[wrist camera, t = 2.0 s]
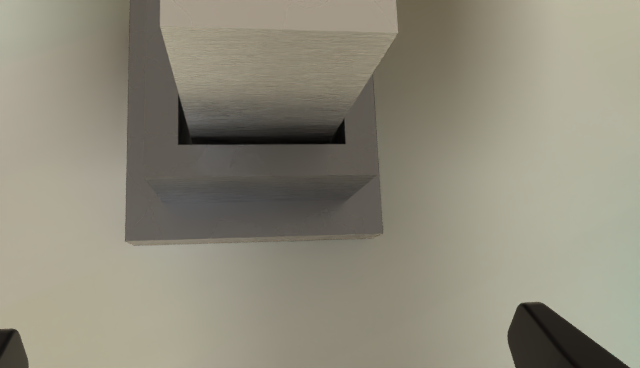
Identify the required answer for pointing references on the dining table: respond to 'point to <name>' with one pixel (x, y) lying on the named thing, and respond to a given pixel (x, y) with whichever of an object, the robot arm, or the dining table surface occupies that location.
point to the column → (273, 65)
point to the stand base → (237, 167)
